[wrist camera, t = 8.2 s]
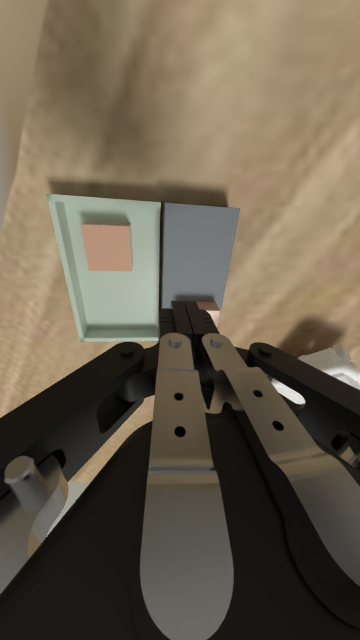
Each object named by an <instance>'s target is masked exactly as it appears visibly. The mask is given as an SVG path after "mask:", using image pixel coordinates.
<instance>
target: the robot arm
mask: <svg viewBox="0 0 360 640" xmlns="http://www.w3.org/2000/svg"><path fill="white" fill-rule="evenodd" d="M158 341H159V342H158V343H157V344H156V345H155V346H153V347H150V348H146V349H144V348H143V347H142V346H141V345H140V344H138V343H135V342H123V343H119V344H117V345H115V346H114V347H112V348H110V349H109V350H107V351H106V352H104V353H102V354H101V355H99V356H98V357H96V358H95V359H93V360H91V361H90V362H88V363H87V364H85V365H83V366H82V367H80V368H79V369H77V370H76V371H74V372H72V373H71V374H69V375H68V376H66V377H65V378H63V379H61V380H60V381H58V382H57V383H55V384H53V385H52V386H50V387H49V388H47V389H46V390H44V391H42V392H41V393H39V394H38V395H36V396H35V397H33V398H31V399H30V400H28V401H27V402H25V403H23V404H22V405H20V406H19V407H17V408H16V409H14V410H12V411H11V412H9V413H8V414H6V415H4V416H3V417H1V418H0V640H360V390H359V389H357V388H355V387H353V386H351V385H349V384H347V383H345V382H343V381H341V380H339V379H337V378H335V377H333V376H331V375H329V374H327V373H325V372H323V371H321V370H319V369H317V368H315V367H313V366H311V365H309V364H307V363H305V362H303V361H301V360H299V359H297V358H295V357H293V356H291V355H289V354H287V353H285V352H283V351H281V350H279V349H277V348H275V347H273V346H271V345H269V344H266V343H260V342H258V343H253V344H251V345H250V348H249V350H246V349H242V348H237V347H234V346H233V344H232V343H231V341H230V340H229V339H228V338H227V337H225V336H223V335H221V334H220V333H219V331H218V329H217V327H216V325H215V323H214V321H213V319H212V317H211V315H210V313H208V312H207V311H206V310H205V309H199V307H198V305H197V302H196V301H184V302H183V301H171V304H170V308H162V309H161V311H160V312H159V327H158ZM273 378H274V379H275V380H277V381H279V382H280V383H282V384H284V385H285V386H287V387H289V388H291V389H292V390H294V391H296V392H297V393H299V394H300V395H301V396H302V397H303V398H304V400H305V404H302V405H300V404H296V403H294V402H293V401H291V400H290V399H288V398H286V397H285V396H283V395H282V394H280V393H278V391H277V390H276V388H275V387H274V386H273V384H272V383H271V381H272V379H273ZM152 395H155V400H154V411H153V421H151V422H149V423H146V424H145V425H143V426H141V427H140V428H138V429H137V430H136V431H134V432H133V433H132V434H131V435H130V436H129V437H128V438H127V439H126V440H125V441H124V442H123V444H122V445H121V446H120V447H119V449H118V450H117V451H116V452H115V453H114V455H113V456H112V457H111V458H110V460H109V461H108V462H107V463H106V465H105V466H104V467H103V468H102V469H101V471H100V472H99V473H98V474H97V476H96V477H95V478H94V479H93V481H92V482H91V483H90V484H89V486H88V487H87V488H86V489H85V491H84V492H83V493H82V494H81V495H80V497H79V498H78V499H77V500H76V502H75V503H74V504H73V505H72V506H71V508H70V509H69V510H68V512H67V513H66V514H65V515H64V516H63V517H62V519H61V520H60V521H59V522H58V524H57V525H56V526H55V527H54V529H53V530H52V531H51V532H50V534H49V535H48V536H47V537H46V535H47V533H48V531H49V529H50V527H51V525H52V524H53V522H54V521H55V520H56V518H57V517H58V515H59V514H60V513H61V511H62V509H63V508H64V505H65V503H66V500H67V497H68V483H67V482H68V481H69V480H70V479H71V478H72V477H73V476H74V475H75V474H76V473H77V472H78V471H79V470H80V469H81V467H82V466H83V465H84V464H85V463H86V462H87V461H88V460H89V459H90V458H91V457H92V456H93V455H94V454H95V453H96V452H97V451H98V450H99V448H100V447H101V446H102V445H103V444H104V443H105V442H106V441H107V440H108V439H109V438H110V437H111V436H112V435H113V434H114V433H115V432H116V430H117V429H118V428H119V427H120V426H121V425H122V424H123V423H124V422H125V421H126V420H127V419H128V418H129V417H130V416H131V415H132V414H133V413H134V411H135V410H136V409H137V408H138V407H139V406H140V405H141V404H142V403H143V401H144V398H146V397H149V396H152Z"/></svg>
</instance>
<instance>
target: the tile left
mask: <svg viewBox="0 0 360 640" xmlns="http://www.w3.org/2000/svg"><path fill="white" fill-rule="evenodd" d="M81 230H82V235H83V241H84V247H85V252H86V258H87V263H88V269H89V271H132V270H133V266H134V263H133V247H132V232H131V224H119V223H96V222H86V223H83V224H81Z"/></svg>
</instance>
